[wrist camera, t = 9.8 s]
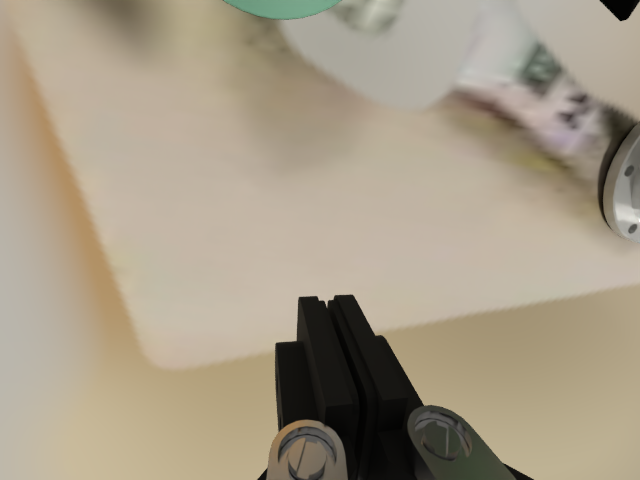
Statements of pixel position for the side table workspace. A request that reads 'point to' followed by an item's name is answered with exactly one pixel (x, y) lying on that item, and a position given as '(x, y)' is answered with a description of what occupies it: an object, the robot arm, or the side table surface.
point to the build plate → (620, 7)
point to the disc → (283, 7)
